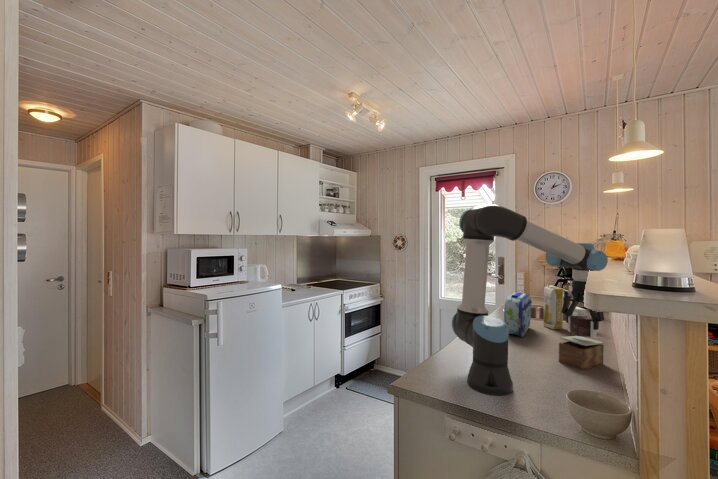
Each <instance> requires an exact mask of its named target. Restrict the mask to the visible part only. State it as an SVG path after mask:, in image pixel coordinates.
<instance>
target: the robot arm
mask: <svg viewBox="0 0 718 479" xmlns="http://www.w3.org/2000/svg"><path fill="white" fill-rule="evenodd" d="M458 224H459V228H460V230H461V232H462V233H463V234H462V240H463V242H464V243H465V244H466V245H465V246H466V248H465V256H464V270H463V271H464V273H463V274H464V275H463V282H462V283H463V285H462V286H463V287H462V296H461V303H460V304H458V306H457V309H456V310H457V311H456V313H455V314H454V315H453V316H452V319H451V328H452V331H453V333H454V334H455V335H456V337H458V339H459V340H461V341H463V342H464V343H466V344H468V345H469V346H470V347H471V348H472V363H471V365H470V366H469V370H468V373H467V377H466V378H467V380H466V382H467V385H468V386H469V387H470V388H472V389H473V390H475V391H477V392H479V393H482V394H485V395H486V394H487V395H491V396H503V395H508V394H511V393H512V392H513V389H514V382H513V379H512V376H511V373H510V369H509V337H510V334H509V332H508V326H507V324H506V323H505V322H504V320H503V319H501V318H498V317H494V316H491V315H489V310H488V308H486V296H487V295H486V293H487V292H486V291H487V281H488V270H489V267H488V266H489V257H490V256H489V255H490V246H491V245H492V244H493V243H494V242H495V237H499V238H504V239H506V240H510V241H512V242H513V241H518V242H520V243H521V242H522V243H523V244H526V245H528V246H530V247H533V248H535V249H537V250H540V251H542V252H544V253H545V255H544V257H545V258H544V259H545V262H546V264H548V266H551V267H557V268H558V267H564V268H571V269H572V276H571V278H572V280H571V288H572V290H566V291H565V290H564V298H563V308H562V313H563V315H565V317H566V318H565V319H566V321H565V322H566V324H567V332H569V333H572V332H571V315H573V314H572V313H573V312H574V310H575V308H576V307H578V304H579V303H583V304H585V303H584V302H583V295H584V289H585V284H586V280H587V276H588V272H589V270H590V271H594V272H596V271H597V272H600V271H603V270H605V268H606V267H607V264H608V260H609V259H608V255H607V254H606V253H605V252H604V251H602V250H598V249H595V245H594V244H593V243H591V242H574V241H572V240H570V239H568V238H566V237H563V236H561V235H559V234H557V233H554V232H552V231H550V230H548V229H546V228H544V227H541V226H539V225H537V224H535V223H533V222H531V221H529V220H528V218H527V217H526V216H525V215H522V214H521V213H518V212H517V211H514V210H512V209H509V208H507V207H505V206H502V205H498V204H485V205H475V206H472V207H469V208H467V209H466V210H464V212H462V213H461V215H460V217H459V223H458ZM572 296H573V299H572ZM571 299H572V300H571ZM570 303H571V304H570ZM569 306H570V307H569ZM587 310H588V312H589V315H590V318H591V319H593V321H591V334H590V337H589V338H590V339H592V338H594V339H595V338H596V337H597V330H599V326H600V325H599V324H600V322H604V321H605V313H604V311H603V312H597V311H596V310H595V311H592V310H589V309H588V308H587Z"/></svg>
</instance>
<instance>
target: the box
mask: <svg viewBox="0 0 718 479" xmlns="http://www.w3.org/2000/svg"><path fill="white" fill-rule="evenodd" d="M591 321H593V319H592V317H589V316H587V315H586V316H571V332H570V333H572V334H573V335H574V336H581V337H585V338H591V337H590V334H591Z"/></svg>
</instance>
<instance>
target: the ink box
mask: <svg viewBox="0 0 718 479" xmlns="http://www.w3.org/2000/svg"><path fill="white" fill-rule="evenodd" d="M569 307H570V305H569ZM572 314H573V315H571V316H587V309H585V308H583V307H579V306H576V308H575V310H574V312H573V313H572Z"/></svg>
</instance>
